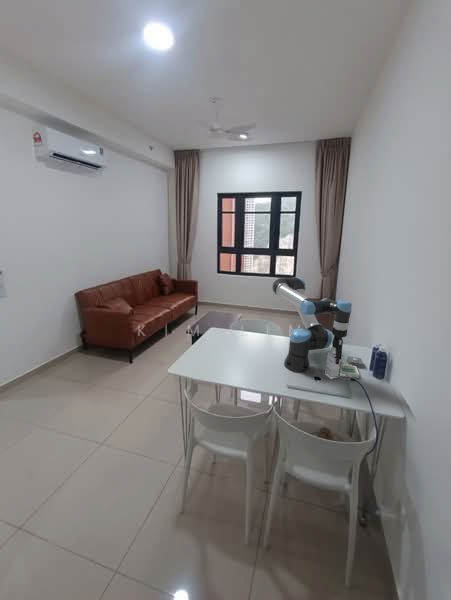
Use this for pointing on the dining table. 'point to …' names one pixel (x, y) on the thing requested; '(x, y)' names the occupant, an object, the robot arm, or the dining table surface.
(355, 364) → the grey box
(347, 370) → the white green flat box
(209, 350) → the dining table surface
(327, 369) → the syrup box
